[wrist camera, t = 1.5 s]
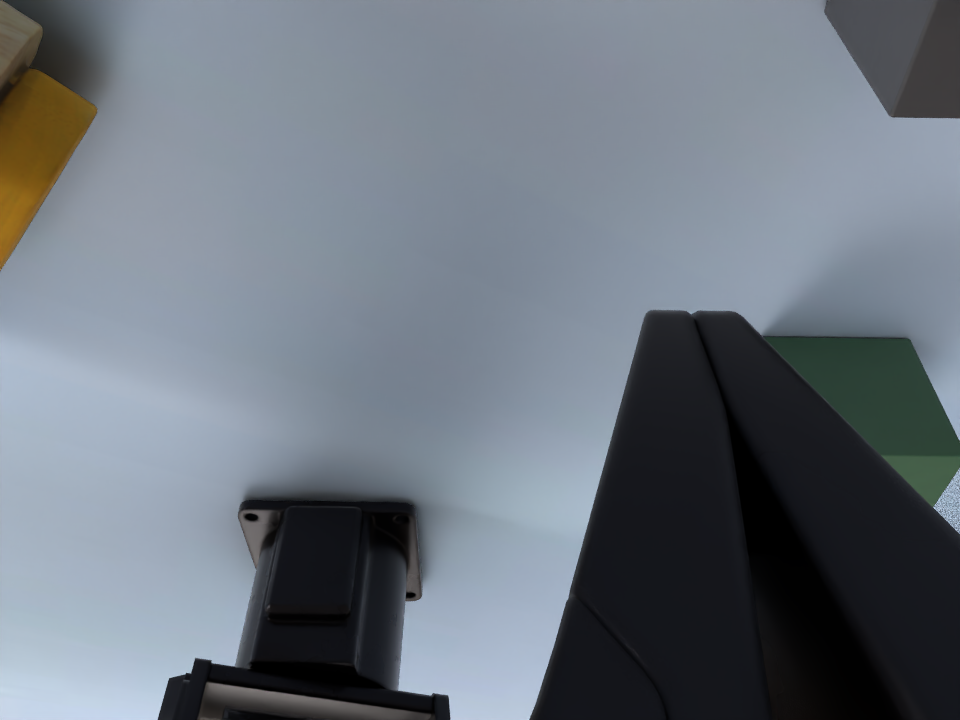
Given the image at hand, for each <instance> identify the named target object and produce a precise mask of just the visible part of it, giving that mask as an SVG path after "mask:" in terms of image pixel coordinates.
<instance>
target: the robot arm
mask: <svg viewBox="0 0 960 720" xmlns="http://www.w3.org/2000/svg"><path fill="white" fill-rule="evenodd" d="M238 519H239V522H240V524H241V527H242V530H243V533H244V536H245V539H246V542H247V545H248V548H249V551H250V553H251V556H252V559H253V562H254V565H255V568H256V574H255V578H254V583H253V587H252V592H251V596H250V601H249V605H248V610H247V614H246V619H245V623H244V628H243V632H242V637H241V641H240V646H239V650H238V655H237V659H236V664H235V667H233V666H227V665H220V664H213V663H211V661H212V660H206V659H199V658H195V662H194V665H193V669H192V673H191V674H190V673H186V674H185V675H181V676H177V677H173V678H169V681H168V684H167V688H166V691H165V695H164V699H163V702H162V706H161V710H160V713H159V717H158V720H450V709H449V698H448V695H441V694H435V693H433V694H432V695H431V696H430V695H423V694H416V693H409V692H403V691H398V685H399V673H400V661H401V649H402V636H403V624H404V612H405V601H416V600H419V599H420V598H421V597H422V575H421V562H420V550H419V537H418V525H417V512H416V509H415V507H414V506H413V505H411V504H408V503H401V502H335V501H268V500H249V501H245V502H242V504H241V505H240V508H239V512H238ZM529 720H960V534H959V533H958V532H957V531H956V530H955V529H954V528H953V527H952V526H951V525H950V524H949V523H948V522H947V521H946V520H945V519H944V518H943V517H942V516H941V515H940V514H939V513H938V512H937V511H936V510H935V509H934V508H933V507H932V506H931V505H930V504H929V503H928V502H927V501H926V500H925V499H924V498H923V497H922V496H921V495H920V494H919V493H918V492H917V491H916V490H915V489H914V488H913V487H912V486H911V485H910V484H909V483H908V482H907V481H906V480H905V479H904V478H903V477H902V476H901V475H900V474H899V473H898V472H897V471H896V470H895V469H894V468H893V467H892V466H891V465H890V464H889V463H888V462H887V461H886V460H885V459H884V458H883V457H882V456H881V455H880V454H879V453H878V452H877V451H876V450H875V449H874V448H873V447H872V446H871V445H870V444H869V443H868V442H867V441H866V440H865V439H864V438H863V437H862V436H861V435H860V434H859V433H858V432H857V431H856V430H855V429H854V428H853V427H852V426H851V425H850V424H849V423H848V422H847V421H846V420H845V419H844V418H843V417H842V416H841V415H840V414H839V413H838V412H837V411H836V410H835V409H834V408H833V407H832V406H831V405H830V404H829V403H828V402H827V401H826V400H825V399H824V398H823V397H822V396H821V395H820V394H819V393H818V392H817V391H816V390H815V389H814V388H813V387H812V386H811V385H810V384H809V383H808V382H807V381H806V380H805V379H804V378H803V377H802V376H801V375H800V374H799V373H798V372H797V371H796V370H795V369H794V368H793V367H792V366H791V365H790V364H789V363H788V362H787V361H786V360H785V359H784V358H783V357H782V356H781V355H780V354H779V353H778V352H777V351H776V350H775V349H774V348H773V347H772V346H771V345H770V344H769V343H768V342H767V341H766V340H765V339H764V338H763V337H762V336H761V335H760V334H759V333H758V332H757V331H756V330H755V329H754V328H753V327H752V326H751V325H750V324H749V323H748V322H747V320H746V319H745V318H744V317H742V316H741V315H740V314H738V313H736V312H732V311H697V312H695V313H693V314H692V315H691V314H690V313H688V312H687V311H683V310H650V311H648V312H647V313H646V315H645V317H644V320H643V324H642V328H641V331H640V335H639V339H638V342H637V346H636V350H635V353H634V357H633V361H632V364H631V368H630V372H629V375H628V379H627V383H626V386H625V390H624V394H623V397H622V401H621V405H620V408H619V412H618V416H617V419H616V423H615V427H614V430H613V434H612V438H611V441H610V445H609V449H608V452H607V456H606V460H605V463H604V467H603V471H602V475H601V478H600V482H599V486H598V489H597V493H596V497H595V500H594V504H593V508H592V511H591V515H590V519H589V522H588V526H587V530H586V533H585V537H584V541H583V544H582V548H581V552H580V555H579V559H578V563H577V566H576V570H575V574H574V577H573V581H572V585H571V588H570V593H569V599H568V600H567V602H566V605H565V608H564V612H563V616H562V619H561V623H560V627H559V630H558V634H557V638H556V641H555V645H554V648H553V651H552V654H551V657H550V660H549V664H548V667H547V670H546V673H545V676H544V679H543V683H542V686H541V689H540V692H539V695H538V698H537V702H536V704H535V707H534V709H533V712H532V714H531V717H530V719H529Z"/></svg>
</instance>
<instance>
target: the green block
mask: <svg viewBox="0 0 960 720" xmlns="http://www.w3.org/2000/svg"><path fill="white" fill-rule="evenodd" d="M763 338H764V339H765V340H766V341H767V342H768V343H769V344H770V345H771V346H772V347H773V348H774V349H775V350H776V351H777V352H778V353H779V354H780V355H781V356H782V357H783V358H784V359H785V360H786V361H787V362H788V363H789V364H790V365H791V366H792V367H793V368H794V369H795V370H796V371H797V372H798V373H799V374H800V375H801V376H802V377H803V378H804V379H805V380H806V381H807V382H808V383H809V384H810V385H811V386H812V387H813V388H814V389H815V390H816V391H817V392H818V393H819V394H820V395H821V396H822V397H823V398H824V399H825V400H826V401H827V402H828V403H829V404H830V405H831V406H832V407H833V408H834V409H835V410H836V411H837V412H838V413H839V414H840V415H841V416H842V417H843V418H844V419H845V420H846V421H847V422H848V423H849V424H850V425H851V426H852V427H853V428H854V429H855V430H856V431H857V432H858V433H859V434H860V435H861V436H862V437H863V438H864V439H865V440H866V441H867V442H868V443H869V444H870V445H871V446H872V447H873V448H874V449H875V450H876V451H877V452H878V453H879V454H880V455H881V456H882V457H883V458H884V459H885V460H886V461H887V462H888V463H889V464H890V465H891V466H892V467H893V468H894V469H895V470H896V471H897V472H898V473H899V474H900V475H901V476H902V477H903V478H904V479H905V480H906V481H907V482H908V483H909V484H910V485H911V486H912V487H913V488H914V489H915V490H916V491H917V492H918V493H919V494H920V495H921V496H922V497H923V498H924V499H925V500H926V501H927V502H928V503H929V504H930V505H931V506H932V507H934V505H935V504H936V502H937V501H938V499H939V498H940V496H941V495H942V493H943V492H944V490H945V489H946V487H947V486H948V484H949V483H950V481H951V480H952V478H953V477H954V475H955V474H956V472H957V471H958V469H959V468H960V441H959V439H958V437H957V435H956V433H955V431H954V429H953V427H952V425H951V423H950V421H949V419H948V417H947V415H946V413H945V411H944V408H943V406H942V404H941V402H940V400H939V398H938V396H937V394H936V392H935V390H934V388H933V386H932V384H931V382H930V380H929V378H928V376H927V374H926V372H925V370H924V368H923V365H922V363H921V361H920V359H919V357H918V355H917V353H916V351H915V349H914V347H913V345H912V343H911V341H910V339H877V338H807V337H763Z"/></svg>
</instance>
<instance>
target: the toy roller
mask: <svg viewBox="0 0 960 720" xmlns="http://www.w3.org/2000/svg"><path fill="white" fill-rule="evenodd" d="M42 35H43V28H42V27H41V25H40V24H38V23H36V22H35V21H33V20H32V19H30V18H28V17H27V16H25V15H24V14H22V13H21V12H19V11H18V10H16V9H15V8H13V7H12V6H10V5H9V4H7V3H6V2H4V1H3V0H0V270H1V269H2V267H3V266H4V264H5V263H6V261H7V260H8V258H9V257H10V255H11V254H12V252H13V251H14V249H15V247H16V246H17V244H18V243H19V241H20V239H21V238H22V236H23V234H24V233H25V231H26V229H27V228H28V226H29V224H30V223H31V221H32V220H33V218H34V216H35V215H36V213H37V211H38V210H39V208H40V206H41V205H42V203H43V202H44V200H45V198H46V197H47V195H48V193H49V192H50V190H51V189H52V187H53V185H54V184H55V182H56V181H57V179H58V177H59V176H60V174H61V172H62V171H63V169H64V167H65V166H66V164H67V162H68V161H69V159H70V157H71V156H72V154H73V152H74V151H75V149H76V147H77V146H78V144H79V143H80V141H81V140H82V138H83V136H84V135H85V133H86V132H87V130H88V128H89V126H90V125H91V123H92V121H93V119H94V117H95V116H96V114H97V110H98V109H97V108H96V107H95V106H94V105H93V104H91V103H90V102H88V101H87V100H85V99H84V98H82V97H81V96H79V95H78V94H76V93H74V92H73V91H71V90H70V89H68V88H67V87H65V86H64V85H62V84H60V83H59V82H57V81H56V80H54V79H53V78H51V77H50V76H48V75H46V74H45V73H43V72H41V71H39V70H36V69H31V68H29V67H30V65H31V63H32V61H33V59H34V57H35V55H36V53H37V50H38V47H39V44H40V41H41V39H42Z"/></svg>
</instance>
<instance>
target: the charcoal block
mask: <svg viewBox="0 0 960 720" xmlns="http://www.w3.org/2000/svg"><path fill="white" fill-rule="evenodd" d="M824 12H825V15H826V16H827V18H828V19H829V21H830V23H831V24H832V26H833V27H834V29H835V30H836V32H837V34H838V35H839V37H840V38H841V40H842V42H843V43H844V45H845V46H846V48H847V50H848V51H849V53H850V54H851V56H852V57H853V59H854V61H855V62H856V64H857V65H858V67H859V69H860V70H861V72H862V73H863V75H864V76H865V78H866V80H867V81H868V83H869V84H870V86H871V88H872V89H873V91H874V92H875V94H876V95H877V97H878V99H879V100H880V102H881V103H882V105H883V107H884V108H885V110H886V111H887V113H888V115H889V116H890V117H905V118H960V0H828V1H827V4H826V8H825V11H824Z"/></svg>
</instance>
